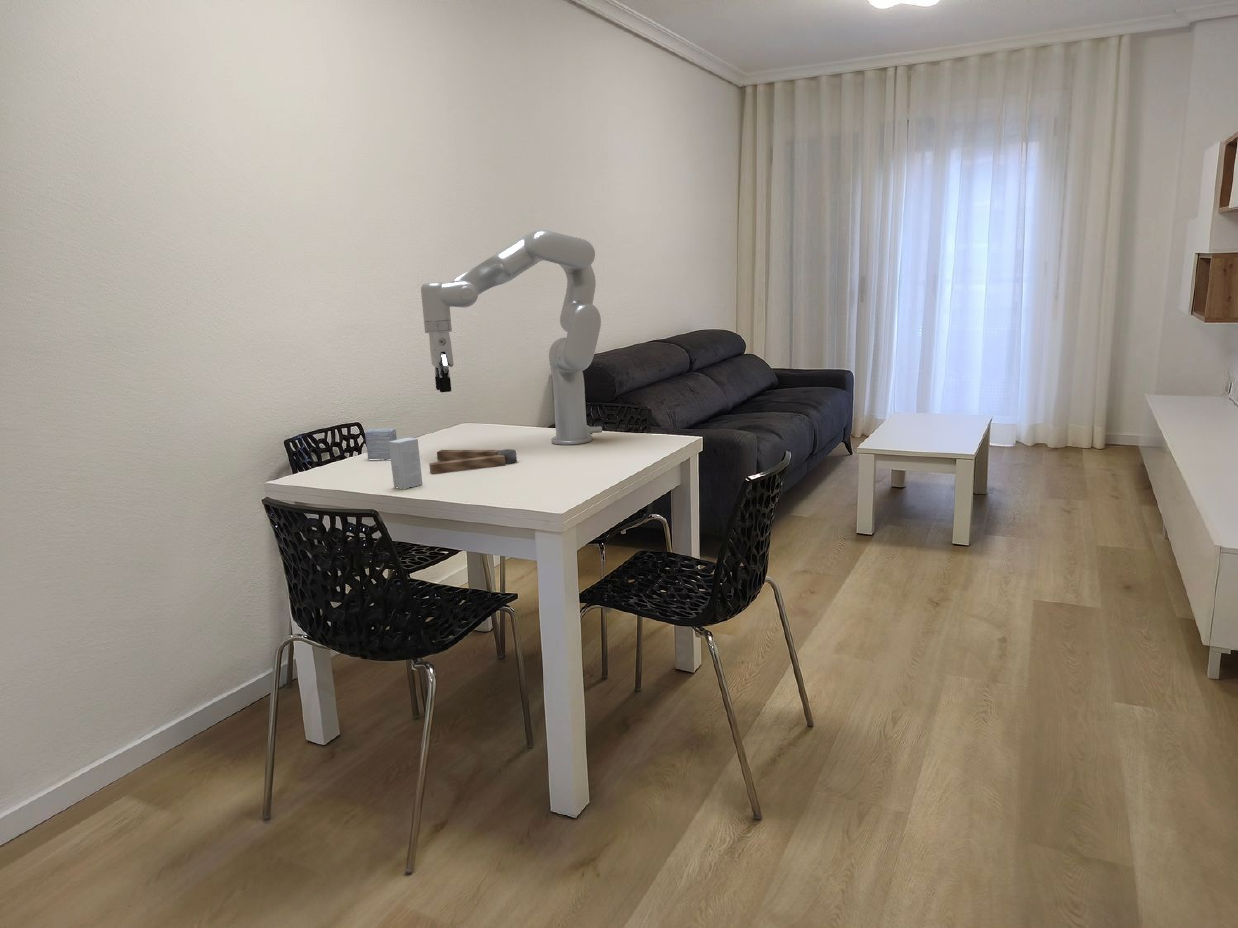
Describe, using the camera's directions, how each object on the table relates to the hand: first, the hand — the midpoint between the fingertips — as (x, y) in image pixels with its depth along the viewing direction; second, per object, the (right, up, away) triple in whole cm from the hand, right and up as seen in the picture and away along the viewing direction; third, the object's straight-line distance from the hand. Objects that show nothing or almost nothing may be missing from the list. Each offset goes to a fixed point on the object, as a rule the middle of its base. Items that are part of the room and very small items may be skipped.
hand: (443, 390), depth 253 cm
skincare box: (-3, -27, -31) cm, 41 cm away
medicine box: (-19, -20, +5) cm, 28 cm away
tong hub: (+11, -22, -12) cm, 27 cm away
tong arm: (+8, -20, -3) cm, 22 cm away
